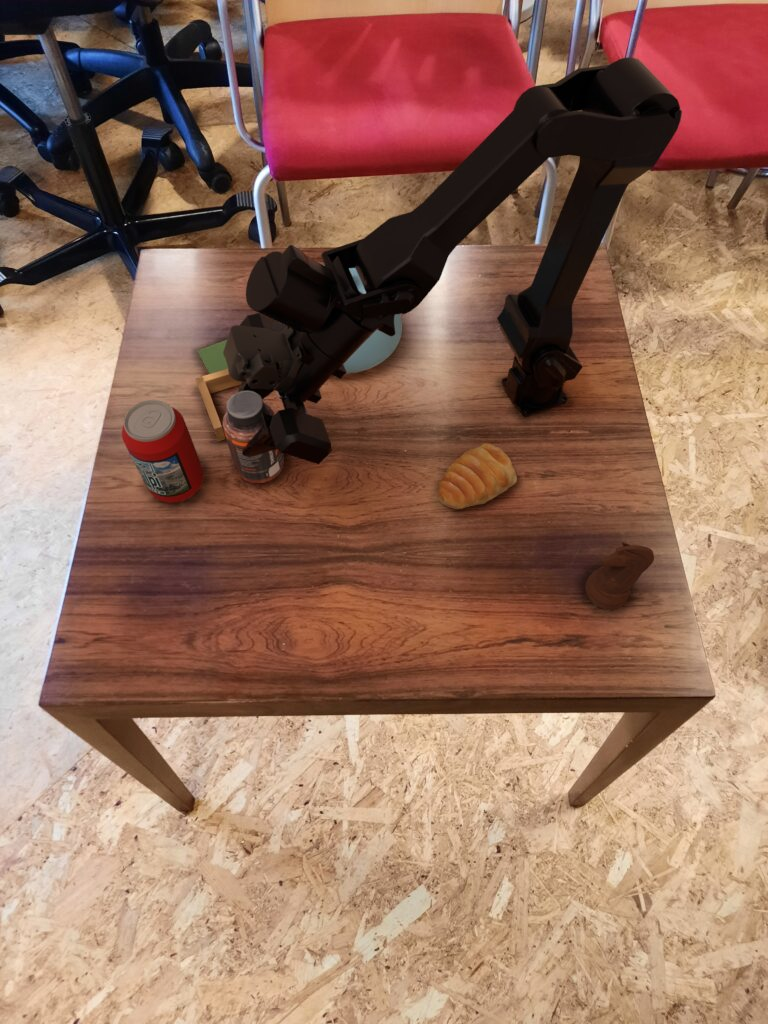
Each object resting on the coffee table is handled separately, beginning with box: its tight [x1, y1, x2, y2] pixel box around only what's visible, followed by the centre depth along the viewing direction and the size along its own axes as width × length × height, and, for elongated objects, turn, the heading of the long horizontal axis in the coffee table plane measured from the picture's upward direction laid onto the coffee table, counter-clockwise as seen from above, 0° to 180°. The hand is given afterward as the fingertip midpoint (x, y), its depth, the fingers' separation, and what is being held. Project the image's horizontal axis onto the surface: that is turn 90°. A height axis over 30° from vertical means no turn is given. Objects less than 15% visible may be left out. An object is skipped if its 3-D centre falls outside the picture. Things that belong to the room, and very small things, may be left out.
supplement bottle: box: [222, 391, 285, 484], centre depth 84 cm, size 6×6×11 cm
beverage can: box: [121, 399, 204, 503], centre depth 82 cm, size 7×7×12 cm
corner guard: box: [195, 369, 241, 442], centre depth 93 cm, size 10×9×2 cm
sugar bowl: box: [343, 268, 403, 375], centre depth 95 cm, size 15×15×12 cm
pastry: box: [437, 443, 518, 510], centre depth 86 cm, size 9×7×4 cm
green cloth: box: [196, 339, 228, 374], centre depth 98 cm, size 8×6×1 cm
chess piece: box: [585, 541, 655, 611], centre depth 76 cm, size 5×5×10 cm
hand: (239, 433), depth 83 cm, fingers closed on supplement bottle, 6 cm apart
